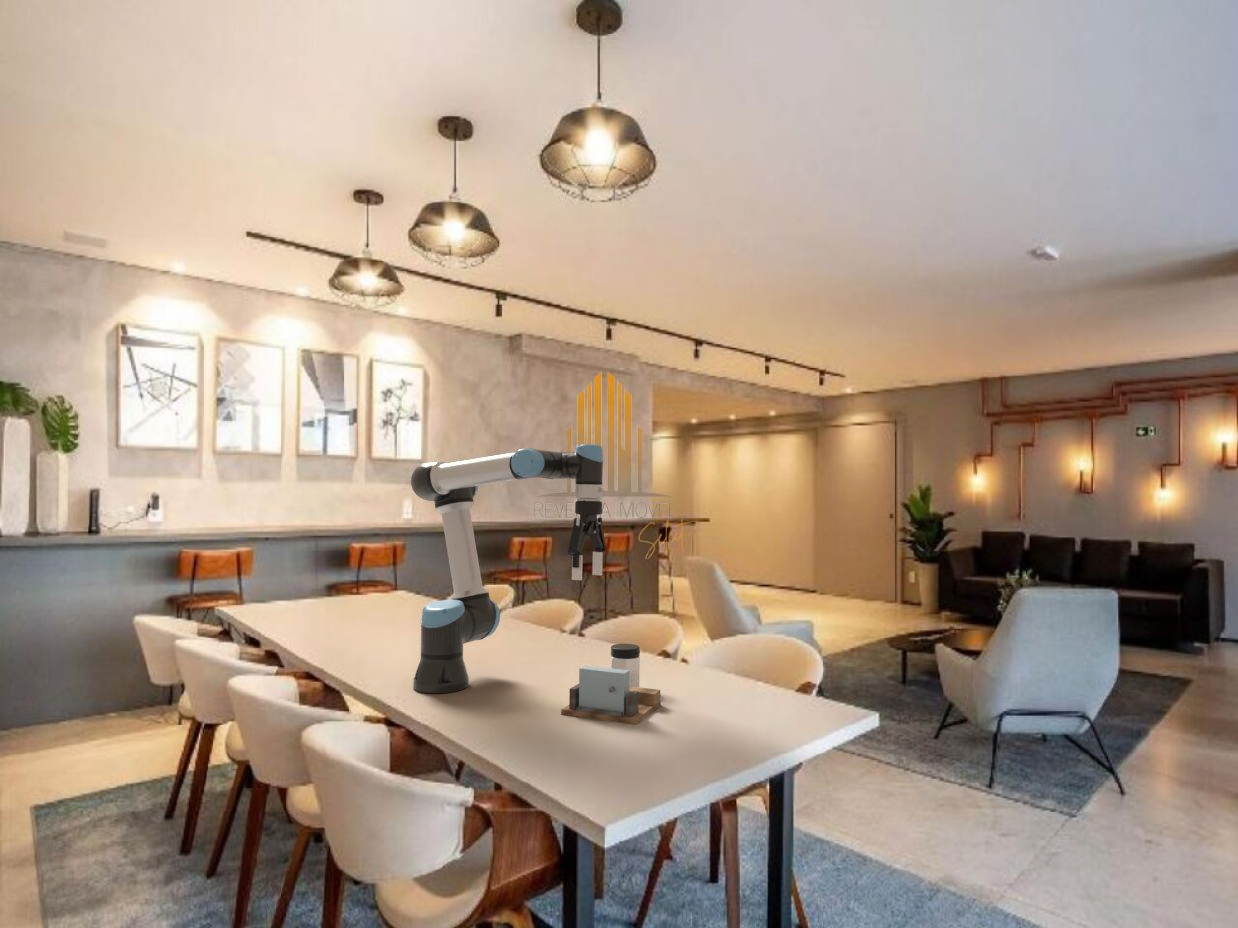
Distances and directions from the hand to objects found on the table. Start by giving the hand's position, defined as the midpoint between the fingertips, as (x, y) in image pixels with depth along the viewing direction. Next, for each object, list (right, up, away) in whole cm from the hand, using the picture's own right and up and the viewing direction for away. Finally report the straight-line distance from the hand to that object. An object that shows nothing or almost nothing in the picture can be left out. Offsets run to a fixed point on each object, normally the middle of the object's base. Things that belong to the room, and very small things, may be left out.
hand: (587, 577), depth 198 cm
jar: (+10, -32, +4) cm, 34 cm away
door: (+5, -30, -20) cm, 36 cm away
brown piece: (+7, -31, -15) cm, 35 cm away
